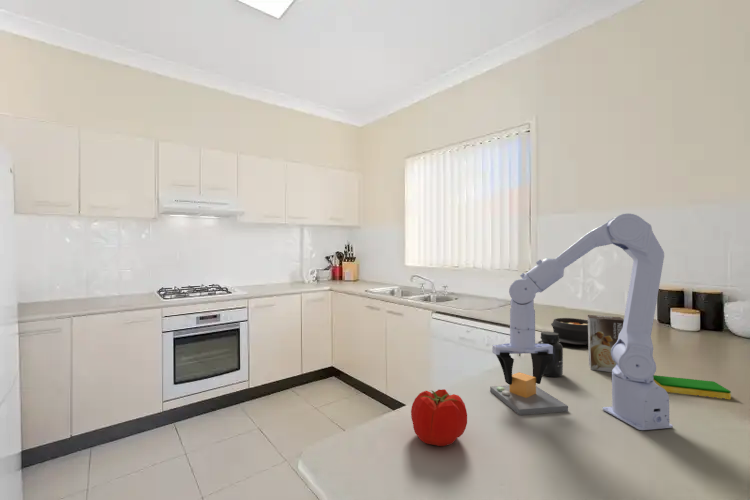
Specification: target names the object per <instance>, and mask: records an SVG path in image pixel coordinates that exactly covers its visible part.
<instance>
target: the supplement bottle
mask: <svg viewBox="0 0 750 500" xmlns="http://www.w3.org/2000/svg"><path fill="white" fill-rule="evenodd" d="M540 339H541V340H539V341H538V342H537V343H536V344H549V345H552V346H553V354H548V355H549V356H551V360H550V362H549V363H548V364H547V366H546V368H545V370H544V372H543V375H542V376H545V377H552V378H560V377H561V376H563V373H564V351H563V350H564V347H563V345H562V343H561V342H558V341H559V334H558V333H554V331H541V332H540Z"/></svg>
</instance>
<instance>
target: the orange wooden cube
mask: <svg viewBox="0 0 750 500" xmlns="http://www.w3.org/2000/svg"><path fill="white" fill-rule="evenodd" d="M536 386H537V383H536V377H533V375H531V374H527V373H523V372H519V371H518V372H516V373H512V385H510V392H511V393H514V394H517V395H519V396H522V397H525V398H528V397H530V396H532V395H534V394H536Z"/></svg>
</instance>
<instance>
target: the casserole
mask: <svg viewBox="0 0 750 500" xmlns="http://www.w3.org/2000/svg"><path fill="white" fill-rule="evenodd" d="M550 326H551V327H552V330H553V331H552V332H554V333H558V334H559V341H558V342H559V343H560V344H562V343H563V344H568V345H575V346H588V319H581V318H573V317H560V318H558V317H557V318H554V319H553V321H552V322H551V323H550Z"/></svg>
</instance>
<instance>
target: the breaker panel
mask: <svg viewBox="0 0 750 500" xmlns="http://www.w3.org/2000/svg"><path fill="white" fill-rule="evenodd" d="M489 392H490V393H492V394H493V395H495V397H497V398H498V399H499V400H500V401H502V403H504V404H505V405H507V406H508V407H509V408H510V409H511V410H512V411H514V412H515V413H516V414H517V415H518V416H523V415H534V414H535V415H536V414H549V413H551V414H552V413H562V412H563V413H565V412H569V405H567V404H566V403H564V402H562V401H561V400H559V399H558V398H557V397H554V396H553V395H552V394H550V393H549V392H546V390H543V389H542V388H540V387H539V386H537V385H536V394H534V395H532V396H530V397H528V398H525V397H522V396H519V395H517V394H514V393H511V392H510V385H509V384H508V385H506V384H505V385H494V386H489Z"/></svg>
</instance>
